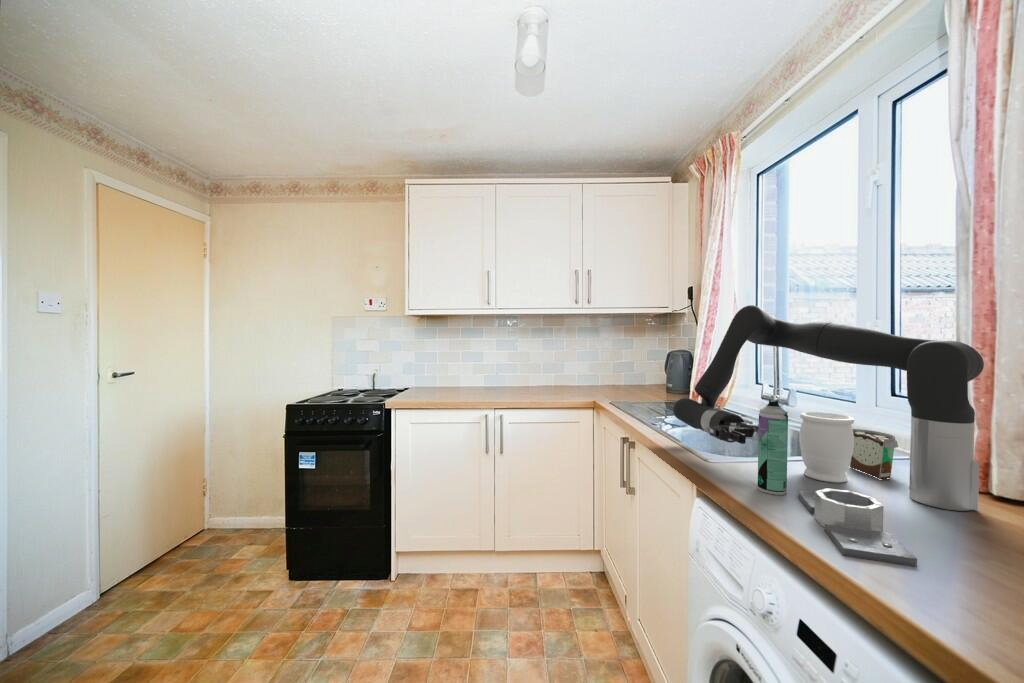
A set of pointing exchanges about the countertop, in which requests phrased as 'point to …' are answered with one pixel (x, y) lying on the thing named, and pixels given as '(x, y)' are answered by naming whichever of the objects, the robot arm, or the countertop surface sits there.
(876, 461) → the food container
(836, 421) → the jar
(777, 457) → the spray can
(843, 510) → the grey octagonal flange mount
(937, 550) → the countertop surface
